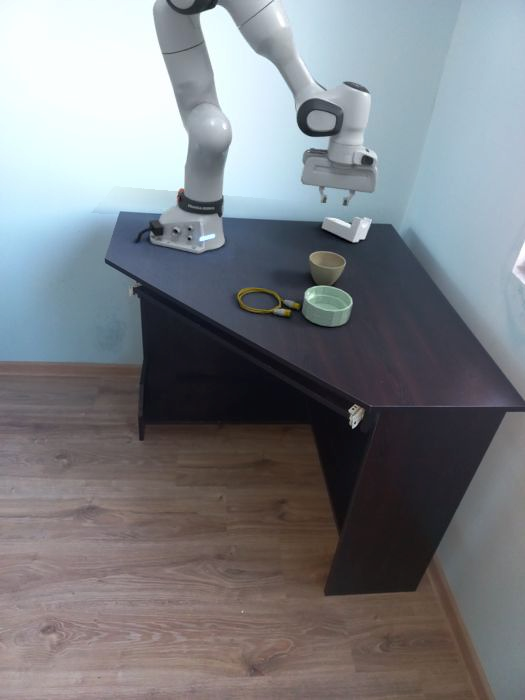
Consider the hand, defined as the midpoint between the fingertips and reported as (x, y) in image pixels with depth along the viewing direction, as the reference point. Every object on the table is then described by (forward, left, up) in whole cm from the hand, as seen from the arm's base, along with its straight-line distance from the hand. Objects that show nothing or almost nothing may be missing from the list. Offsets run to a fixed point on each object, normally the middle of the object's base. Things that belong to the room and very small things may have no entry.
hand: (334, 203), depth 147 cm
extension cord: (-15, -26, -19) cm, 36 cm away
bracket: (+8, +25, -19) cm, 33 cm away
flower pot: (0, -10, -19) cm, 22 cm away
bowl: (0, -27, -19) cm, 33 cm away
